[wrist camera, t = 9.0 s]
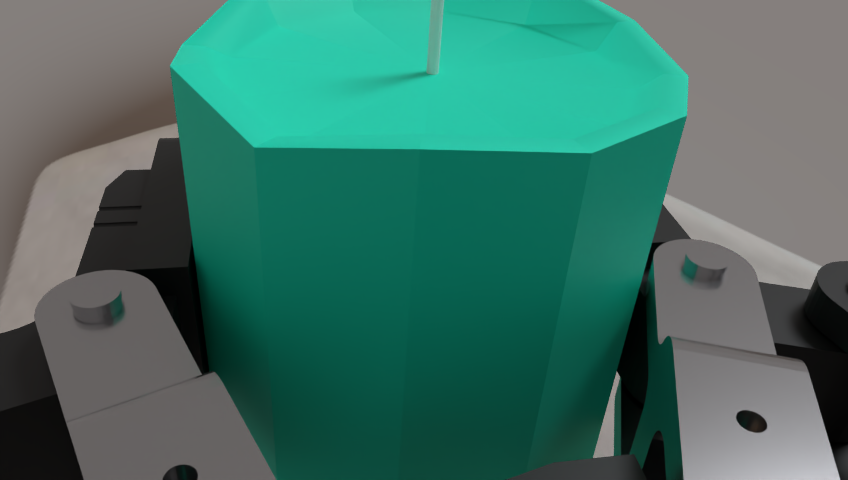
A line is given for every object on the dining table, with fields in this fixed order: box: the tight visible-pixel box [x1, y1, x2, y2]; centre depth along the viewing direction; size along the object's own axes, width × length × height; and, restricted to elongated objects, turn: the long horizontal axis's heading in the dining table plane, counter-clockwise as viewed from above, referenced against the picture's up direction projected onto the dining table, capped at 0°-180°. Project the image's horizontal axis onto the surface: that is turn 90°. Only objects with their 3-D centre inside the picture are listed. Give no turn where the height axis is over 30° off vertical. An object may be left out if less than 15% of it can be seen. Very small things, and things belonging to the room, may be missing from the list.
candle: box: [170, 0, 688, 480], centre depth 11 cm, size 6×6×12 cm
